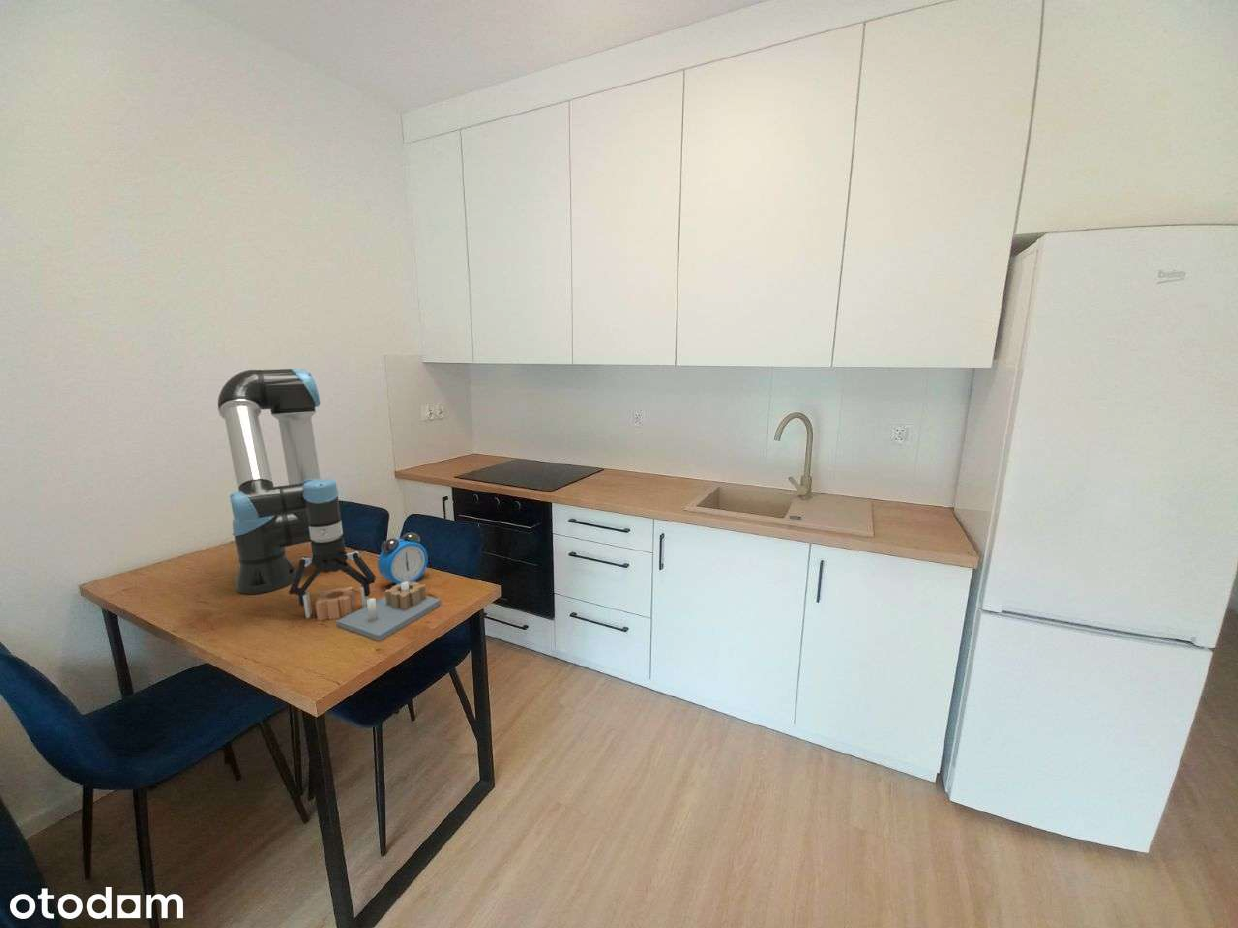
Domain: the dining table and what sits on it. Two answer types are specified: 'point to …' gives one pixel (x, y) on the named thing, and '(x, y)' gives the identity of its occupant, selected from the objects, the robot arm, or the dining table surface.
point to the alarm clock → (402, 559)
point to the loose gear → (335, 603)
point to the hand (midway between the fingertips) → (337, 611)
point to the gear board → (390, 611)
